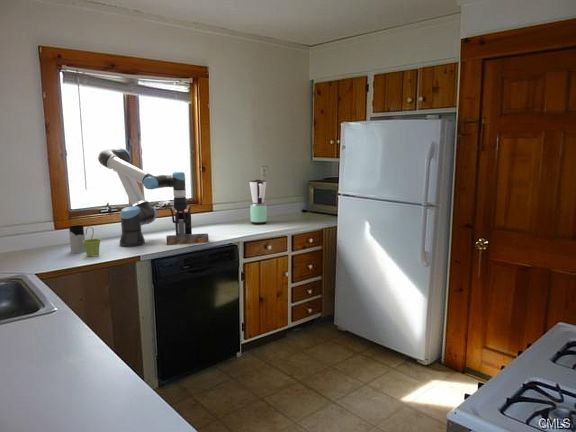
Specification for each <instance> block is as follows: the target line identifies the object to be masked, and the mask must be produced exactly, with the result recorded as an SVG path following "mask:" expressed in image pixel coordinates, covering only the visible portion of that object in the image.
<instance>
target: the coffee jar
mask: <svg viewBox="0 0 576 432" xmlns="http://www.w3.org/2000/svg"><path fill="white" fill-rule="evenodd" d="M191 210H192V209H190V220H189V222H187V228H185V234H184V235H187V234H193V231H192V216H191V215H192V214H191ZM184 212H185V217H186V220H187V219H188V209H187V208H186V209H185V210H184ZM174 213H175V214H174V220H175V221H176V214H177V211H176V209H175V210H174ZM179 219H183V221H184V217H183V212H182V211H180V212H179V214H178V223H179ZM184 223H185V222H184ZM174 224H175V223H174ZM175 227H176V224H175ZM175 235H179V234H178V229H176V228H175Z"/></svg>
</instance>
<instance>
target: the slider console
mask: <svg viewBox="0 0 576 432" xmlns="http://www.w3.org/2000/svg"><path fill="white" fill-rule="evenodd" d="M165 237H166V241H165V242H166V245H167V246H168V245H169V246H171V245H189V244H202V243H204V244H205V243H210V240H209V234H208V233H206V232H205V233H192V234H187V235H184V236H181V237H179V235H176V234H174V235H166V236H165Z"/></svg>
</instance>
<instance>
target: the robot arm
mask: <svg viewBox="0 0 576 432" xmlns="http://www.w3.org/2000/svg"><path fill="white" fill-rule="evenodd" d="M97 153H98V154H97V160H98V162H99V163H100V164H101V165H102V166H103V167H105V168H107V169H109V170H112V171H114V172H116V173H117V175H118V178H119V179H120V182H121V185H122V186H123V188H124V191H125V193H126V195H127V197H128V199H129V201H130V204H131V206H126V207H123V208H122V209H121V210H120V215H119V216H120V225H121V235H120V239H119V246H120V247H124V248H125V247H130V248H131V247H139V246H143V245H145V243H146V240H145V237H144V235H143V232H142V226H145V225H150V224H151V223H153V222H155V220H156V218H157V215H158V214H157V210H156V208H155V207H154V206H153V205H150V203H149V201H148V200H146V199H145V198H144V195H143V192H142V191H141V189H140V186H139V184H138V183H140V184H142V185H143V187H144V188H145V189H147V190H155V189H163V188H172V189H173V192H172V193H173V206H170V207H169V210H170V213H171V221H172V223H173V224H176V226H175V230H176V229H178V234H179V223H178V214H179V212H180V211H182V212H183V217H184V222H185V223H184V234H185V228H187V222H189V220H190V213H191V212H190V210H192V206H189V205H188V204H187V197H186V196H187V191H186V174H185V172H184V171H180V172H179V171H177V172H176V171H174V172H172V175H170V174H169V175H168V174H165V175H164V174H161V175H160V174H159V175H152V174H151V173H149V172H147V171H145V170H143V169H141V168H139V167H137V166H135V165H133V164H131V160H132V159H131V158H132V157H131V153H130V152H129V150H127V149H126V148H123V147H104V148H102V149H101V150H99V152H97ZM174 209H175V210H176V211H177V214H176V213H175V212H174V211H175V210H174ZM185 209H187V210H188V219H187V220H186V217H185V212H184V210H185ZM174 213H175V214H176V221H175V214H174Z"/></svg>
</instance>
